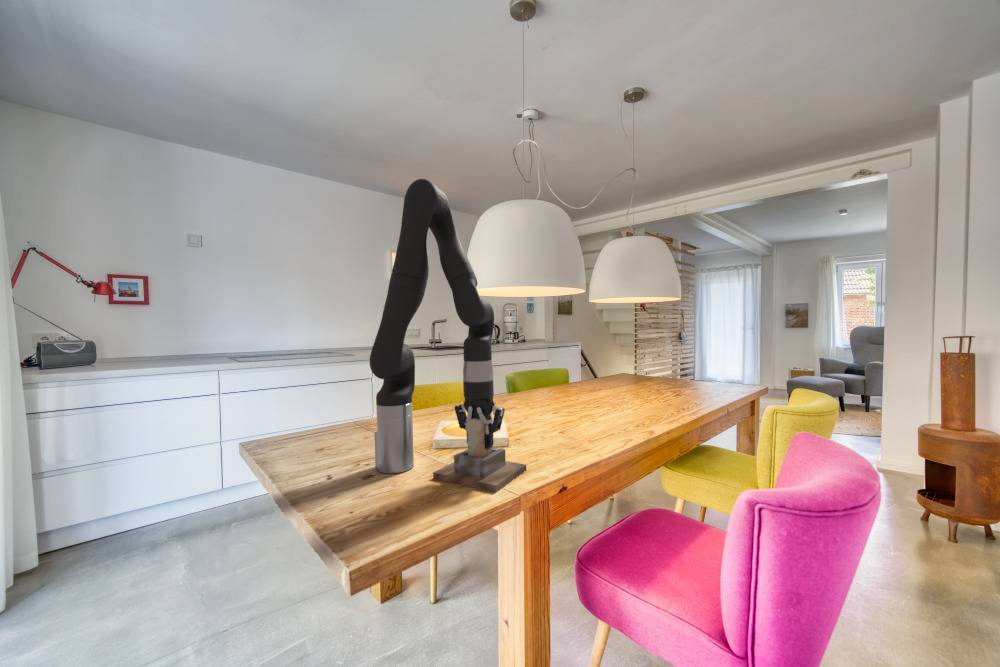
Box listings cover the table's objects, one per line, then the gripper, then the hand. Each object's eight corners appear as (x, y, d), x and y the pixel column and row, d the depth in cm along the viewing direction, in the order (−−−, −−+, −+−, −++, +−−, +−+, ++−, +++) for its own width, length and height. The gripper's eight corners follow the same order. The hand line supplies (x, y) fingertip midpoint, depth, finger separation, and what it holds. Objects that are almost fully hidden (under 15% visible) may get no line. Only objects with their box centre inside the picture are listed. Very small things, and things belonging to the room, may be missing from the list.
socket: (433, 478, 95) (432, 456, 95) (468, 460, 108) (467, 440, 108) (496, 492, 86) (495, 467, 86) (526, 470, 99) (525, 448, 99)
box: (481, 466, 94) (480, 420, 94) (467, 463, 96) (466, 419, 96) (493, 460, 98) (492, 416, 98) (479, 457, 101) (478, 414, 100)
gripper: (510, 378, 97) (512, 446, 97) (463, 376, 104) (465, 440, 104) (495, 381, 90) (496, 455, 90) (446, 379, 97) (448, 447, 97)
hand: (480, 446), depth 97 cm, fingers closed on box, 4 cm apart
